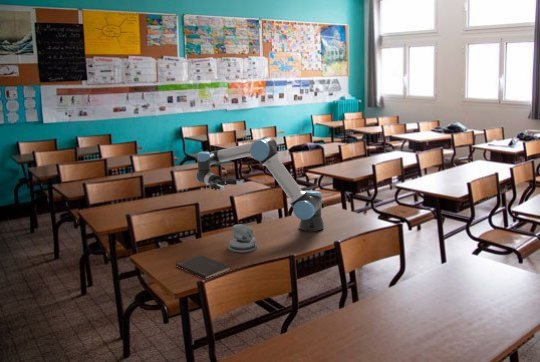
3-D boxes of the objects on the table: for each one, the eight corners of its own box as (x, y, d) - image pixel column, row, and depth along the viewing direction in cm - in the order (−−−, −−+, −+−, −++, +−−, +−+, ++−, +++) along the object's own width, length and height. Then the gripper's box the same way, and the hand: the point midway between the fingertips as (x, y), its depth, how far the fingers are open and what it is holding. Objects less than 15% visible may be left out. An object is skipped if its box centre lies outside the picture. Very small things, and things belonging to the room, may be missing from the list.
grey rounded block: (259, 235, 280) (250, 220, 277) (247, 246, 275) (237, 231, 272) (247, 234, 291) (237, 220, 288) (235, 245, 287) (225, 230, 284)
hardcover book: (201, 258, 270) (200, 254, 270) (230, 270, 255) (230, 266, 254) (175, 267, 259) (175, 263, 258) (205, 280, 243) (205, 276, 243)
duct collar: (245, 240, 294) (245, 233, 293) (263, 248, 282) (263, 240, 281) (222, 247, 285) (222, 239, 284) (239, 255, 273) (239, 247, 272)
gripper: (230, 183, 318) (251, 189, 302) (195, 189, 303) (215, 197, 287) (230, 171, 316) (251, 177, 300) (195, 177, 301) (215, 183, 285)
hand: (234, 186), depth 293 cm, fingers open, 13 cm apart
